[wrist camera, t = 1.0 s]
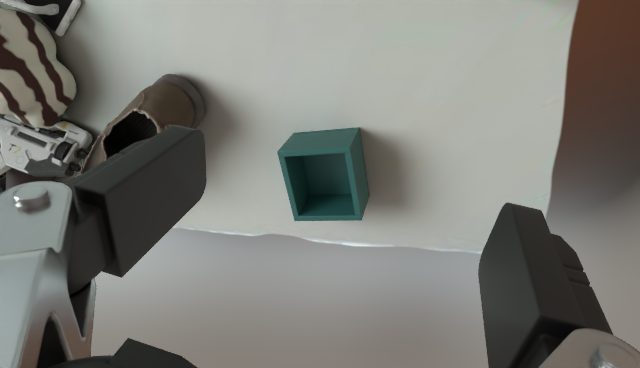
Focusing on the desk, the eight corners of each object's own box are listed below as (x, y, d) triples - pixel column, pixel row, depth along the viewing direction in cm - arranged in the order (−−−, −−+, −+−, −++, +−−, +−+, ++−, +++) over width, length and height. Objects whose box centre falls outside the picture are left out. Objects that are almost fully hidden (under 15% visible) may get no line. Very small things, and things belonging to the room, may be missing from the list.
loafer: (87, 170, 70) (35, 200, 61) (158, 46, 55) (103, 62, 46) (135, 210, 72) (92, 246, 63) (217, 101, 57) (175, 127, 48)
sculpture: (6, 132, 66) (98, 102, 69) (-17, 162, 56) (91, 127, 59) (-101, -15, 53) (18, -42, 56) (-155, -9, 43) (-8, -42, 46)
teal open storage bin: (293, 132, 56) (277, 151, 50) (359, 127, 53) (350, 146, 47) (308, 197, 60) (294, 221, 55) (369, 195, 57) (361, 220, 52)
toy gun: (42, 216, 59) (94, 130, 63) (-83, 162, 62) (-25, 83, 66) (59, 221, 63) (107, 140, 67) (-60, 170, 65) (-7, 95, 69)
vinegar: (-5, 157, 64) (-4, 236, 75) (38, 175, 65) (33, 250, 76) (25, 138, 70) (22, 214, 80) (64, 154, 71) (55, 227, 82)
